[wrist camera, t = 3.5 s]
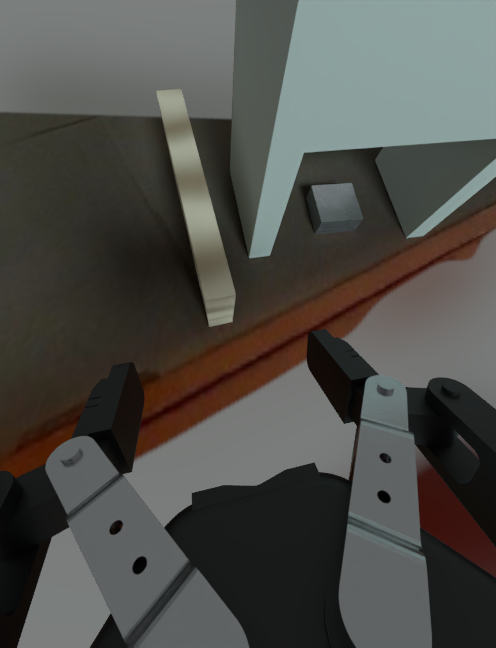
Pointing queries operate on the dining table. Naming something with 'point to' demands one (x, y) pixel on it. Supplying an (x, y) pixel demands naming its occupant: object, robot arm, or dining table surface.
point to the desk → (363, 102)
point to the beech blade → (197, 210)
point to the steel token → (333, 208)
